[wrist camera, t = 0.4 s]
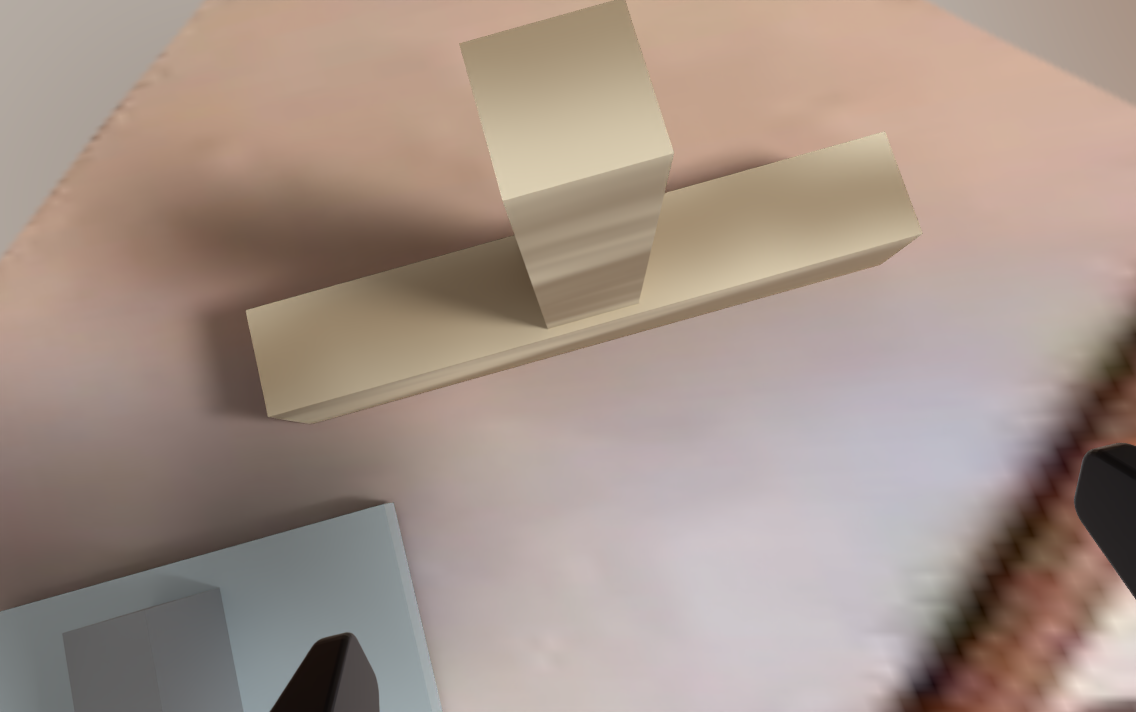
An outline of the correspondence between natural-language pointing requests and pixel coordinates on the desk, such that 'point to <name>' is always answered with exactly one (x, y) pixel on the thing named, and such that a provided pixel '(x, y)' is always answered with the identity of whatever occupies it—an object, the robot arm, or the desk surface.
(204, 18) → the desk surface
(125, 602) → the stand
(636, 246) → the t bar
